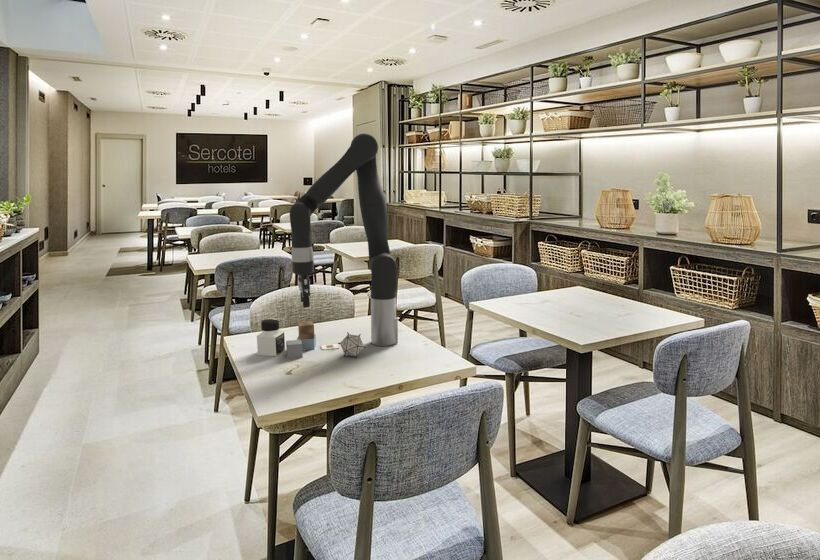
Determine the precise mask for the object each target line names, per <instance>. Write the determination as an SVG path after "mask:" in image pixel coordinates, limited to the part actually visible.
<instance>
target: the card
mask: <svg viewBox="0 0 820 560" xmlns="http://www.w3.org/2000/svg"><path fill="white" fill-rule="evenodd" d="M320 348H321V350H322V351H324V350H338V349H340V347H339V344H338V343H332V344H323V345H322V344H321V345H320Z"/></svg>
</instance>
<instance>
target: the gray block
mask: <svg viewBox="0 0 820 560" xmlns="http://www.w3.org/2000/svg"><path fill="white" fill-rule="evenodd" d="M285 343H286V344H285V350H286V356H287V360H291V359H301V358H302V359H303V358H304V355H303V350H302V342H301V340H297V339H292V340H291V339H290V340H286V342H285Z"/></svg>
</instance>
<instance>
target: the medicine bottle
mask: <svg viewBox="0 0 820 560" xmlns="http://www.w3.org/2000/svg"><path fill="white" fill-rule="evenodd" d="M260 324H261V325H260V327H261V328H260V329H261V333H258V335H257V336H256V341H257V342H256V347H257V356H263V357H278V356H279V355H281V354H282V353H283V352H285V350H286V344H285V343H286V342H285V331H284V330H280V321H279V319H276V318H271V317H270V318H265V319H263V320H262V321H260Z"/></svg>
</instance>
